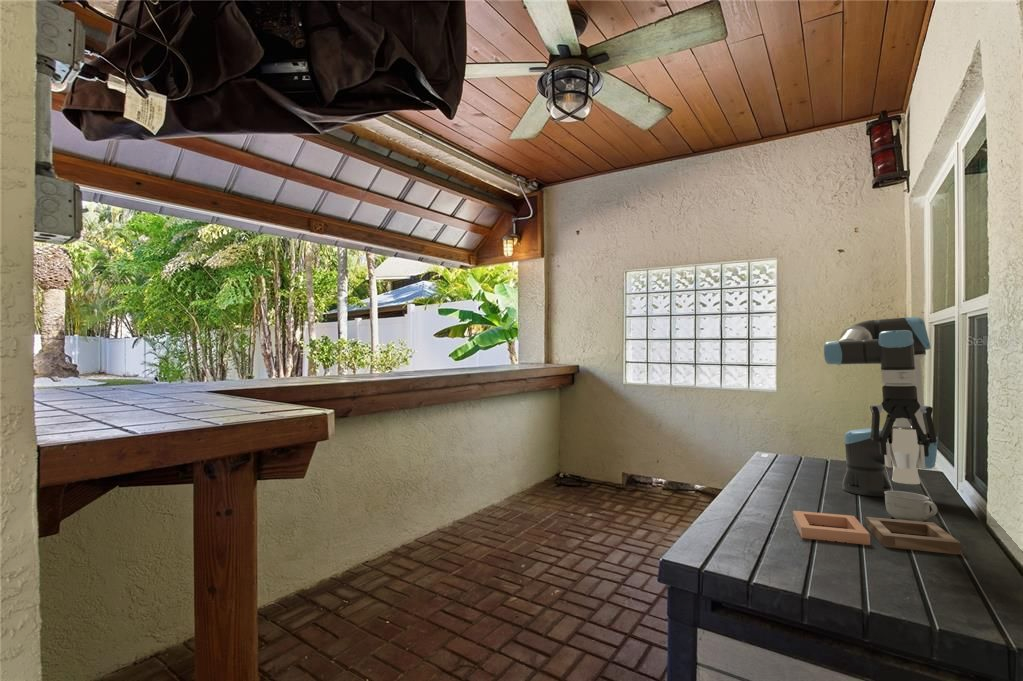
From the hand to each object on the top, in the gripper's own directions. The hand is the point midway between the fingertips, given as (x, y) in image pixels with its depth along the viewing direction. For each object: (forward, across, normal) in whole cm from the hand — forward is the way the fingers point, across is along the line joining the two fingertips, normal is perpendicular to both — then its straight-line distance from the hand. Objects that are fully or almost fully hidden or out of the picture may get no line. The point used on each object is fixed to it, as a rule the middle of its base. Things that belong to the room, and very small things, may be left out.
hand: (904, 467), depth 130 cm
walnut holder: (+20, 0, 0) cm, 20 cm away
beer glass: (+4, 0, 0) cm, 4 cm away
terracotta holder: (+20, -19, 0) cm, 27 cm away
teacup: (+20, +6, +18) cm, 28 cm away
